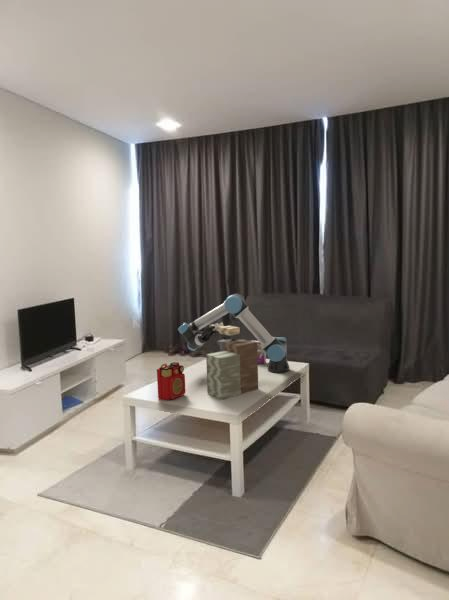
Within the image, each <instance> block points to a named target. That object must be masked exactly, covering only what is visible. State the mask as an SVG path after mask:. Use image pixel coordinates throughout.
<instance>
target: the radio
mask: <svg viewBox="0 0 449 600" xmlns="http://www.w3.org/2000/svg"><path fill="white" fill-rule="evenodd" d="M184 371H185V368H184V365H181V364H180V363H179V362H178V361H177V362H176V361H175V362H171V363H169V364H167V363H162V364H161V365H160V367H158V368H156V376H157V380H156V381H157V399H158V398H159V399H158V400H165V401H170V400H174V399H176V398H179V397H181V396H183V395H185V394H186V376H185V375H186V374H185V373H183V372H184Z"/></svg>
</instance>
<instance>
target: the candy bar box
mask: <svg viewBox="0 0 449 600" xmlns="http://www.w3.org/2000/svg"><path fill="white" fill-rule="evenodd" d="M253 341H254V342H257V352H258V365H261V364H262V365H265V364H267V353H266V352H265V351H264V350H263V349H262V347H263V346H262V344H261V343H260V342H259V341H258V340H253Z"/></svg>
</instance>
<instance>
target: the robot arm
mask: <svg viewBox="0 0 449 600" xmlns="http://www.w3.org/2000/svg"><path fill="white" fill-rule="evenodd" d="M228 313H229V314H232V316H233V317H234V318H236V319H239V320H240V322H241V323H242V324H243V325H244V326H245V327H246V329H248V331H249V332H250V333H251V334H252V335H253V336H254V337H255V338H256V339H257V340H256V341H259V342H260V343H261V344H262V346H263V347H262V349H263V350H264V351H265V352H266V357H267V358H268V359H269V362H268V365H267V371H268V372H270V373H273V374H274V373H275V374H280V373H287V371H288V372H289V371H290V365H289V362H288V359H287V357H288V356H287V355H288V354H287V350H288V349H287V338H286V337H282V336H281V337H276V336H272V335H271V334H270V333H269V332H268V330H267V329H266V328H265V327H264V326H263V325H262V323H260V321H259V320H258V319H257V318H256V316H254V314H252V312H251V311H250V310H249V305H248V304H247V303H246V300H245V298H244V296H243V295H242V294H240V293H232V294H231V295H229V296H228V297H226V299H225V300H224V301H223V303H222V304H220V305H218V306H216V307H215V308H213V309H211V310H210V311H208V312H206V313H205V314H203V315H202V316H200V317H198V318H196V319H195V320H194V321H192V322H190V323H187V322H183V324H182V325H180V326H179V327H178V328H177V331H178V332H179V334H181V336H182V337H183V338H184V340H185V341H186V342H187V343H186V344H187V348H188V350H189V351H192V352H193V351H196V350H198V349H199V348H201V347H202V346H203V345H204V344H206V343H208V341H210V338H211V337H212V336H217V334H218V333H220V332H219V331H215V329H217V328H218V327H219V326H225V325H224V323H223V322H222V321H220V323H218V322H216V323H214V322H215V321H217V320H219V319H220V318H222V317H224V316H226V315H227V314H228ZM212 323H214V325H213V326H212V327H210V328H209V327H207V326H209V325H211V324H212ZM205 327H207V328H206V329H204V328H205ZM202 329H204V330H203V331H200V330H202ZM198 331H200V332H199V333H198V334H196V333H197V332H198Z"/></svg>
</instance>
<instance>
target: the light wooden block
mask: <svg viewBox="0 0 449 600" xmlns="http://www.w3.org/2000/svg"><path fill="white" fill-rule="evenodd" d="M213 325H215V323H213V324H212V323H211V324H209V325H208V326H209V327H208V328H210V327H212V326H213ZM240 328H241V327H239V326H235V325H224V326H219V327H218V328H217V329H215V331H219V332H218V333H219V335H225V336H234V335H239V334H241V331H240V330H241V329H240Z"/></svg>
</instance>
